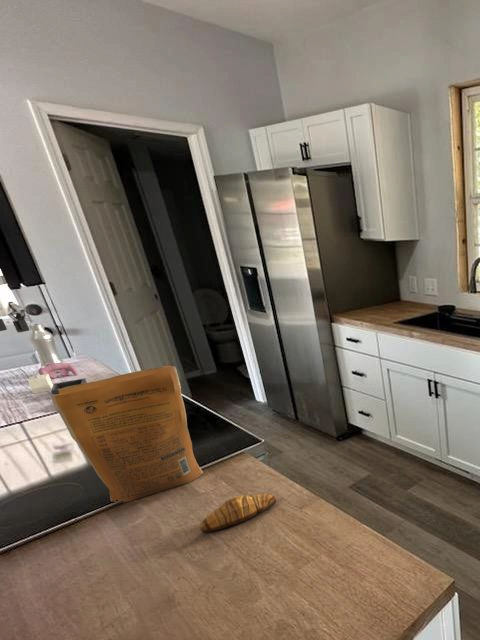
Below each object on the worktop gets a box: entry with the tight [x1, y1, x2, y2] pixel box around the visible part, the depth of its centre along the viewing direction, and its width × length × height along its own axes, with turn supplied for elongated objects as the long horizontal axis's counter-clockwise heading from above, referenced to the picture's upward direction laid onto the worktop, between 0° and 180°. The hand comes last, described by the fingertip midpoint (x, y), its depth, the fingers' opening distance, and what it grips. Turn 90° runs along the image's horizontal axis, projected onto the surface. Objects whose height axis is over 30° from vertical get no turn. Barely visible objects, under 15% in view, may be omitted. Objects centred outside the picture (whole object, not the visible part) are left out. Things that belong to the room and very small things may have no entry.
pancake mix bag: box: [50, 365, 204, 503], centre depth 88 cm, size 7×19×28 cm, turn 131°
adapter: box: [50, 378, 88, 395], centre depth 148 cm, size 8×10×3 cm
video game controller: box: [38, 361, 79, 379], centre depth 162 cm, size 10×5×7 cm, turn 149°
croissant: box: [199, 493, 277, 534], centre depth 83 cm, size 14×7×5 cm, turn 135°
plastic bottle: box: [28, 323, 64, 374], centre depth 165 cm, size 6×7×20 cm
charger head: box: [27, 372, 54, 394], centre depth 150 cm, size 4×6×6 cm
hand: (12, 331), depth 146 cm, fingers open, 9 cm apart
